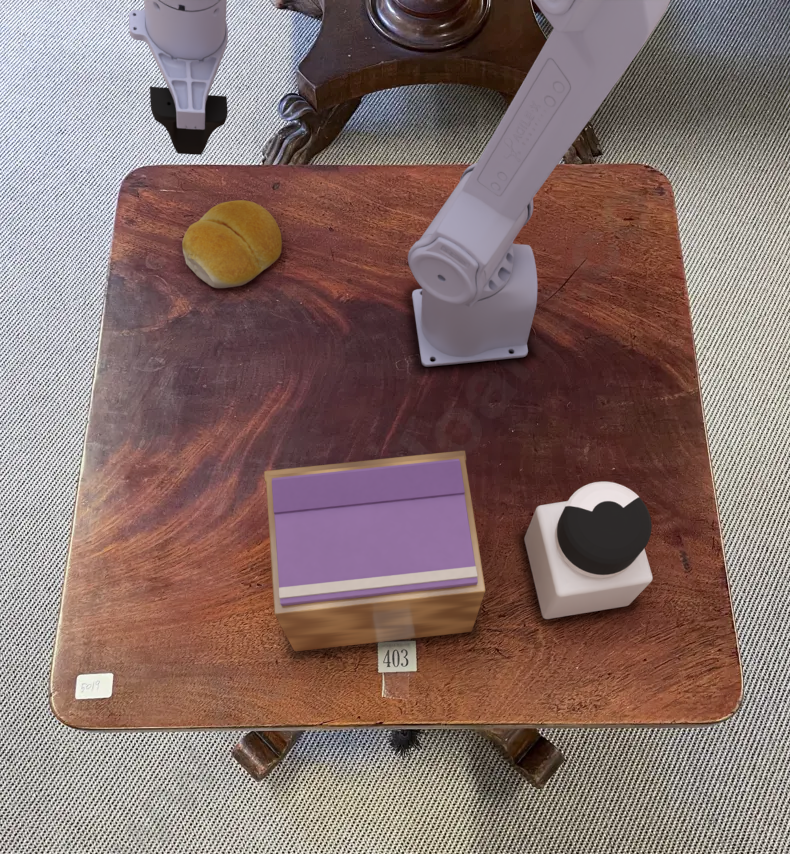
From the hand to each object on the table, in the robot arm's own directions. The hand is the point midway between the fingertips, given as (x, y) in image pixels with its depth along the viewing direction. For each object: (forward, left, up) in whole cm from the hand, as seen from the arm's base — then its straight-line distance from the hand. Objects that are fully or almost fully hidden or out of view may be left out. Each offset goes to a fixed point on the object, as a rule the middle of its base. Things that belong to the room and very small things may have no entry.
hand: (186, 110), depth 72 cm
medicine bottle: (-28, +40, -12) cm, 50 cm away
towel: (-12, +39, 0) cm, 41 cm away
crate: (-12, +39, -12) cm, 42 cm away
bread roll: (-2, +6, -12) cm, 13 cm away
